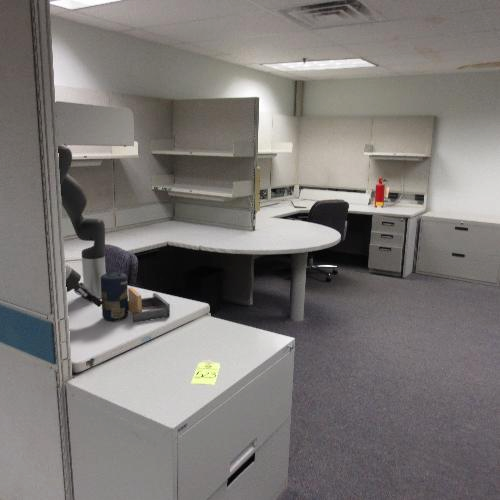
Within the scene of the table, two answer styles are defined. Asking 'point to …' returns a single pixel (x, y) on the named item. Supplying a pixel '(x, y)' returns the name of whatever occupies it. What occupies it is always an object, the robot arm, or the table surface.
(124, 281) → the canister
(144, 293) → the table surface
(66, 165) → the robot arm
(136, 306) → the plate
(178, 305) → the table surface
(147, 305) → the tray
